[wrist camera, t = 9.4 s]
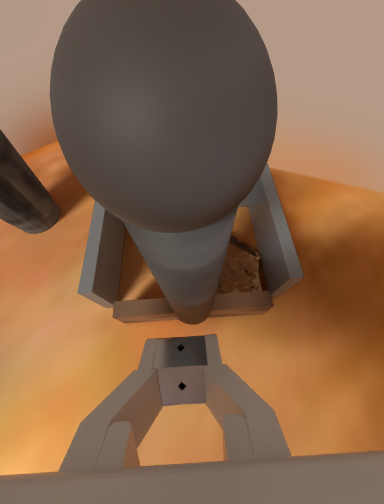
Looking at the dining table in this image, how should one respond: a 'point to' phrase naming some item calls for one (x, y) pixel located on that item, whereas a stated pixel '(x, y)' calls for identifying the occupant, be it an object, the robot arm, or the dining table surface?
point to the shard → (239, 269)
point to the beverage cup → (23, 193)
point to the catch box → (258, 201)
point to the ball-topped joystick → (168, 137)
